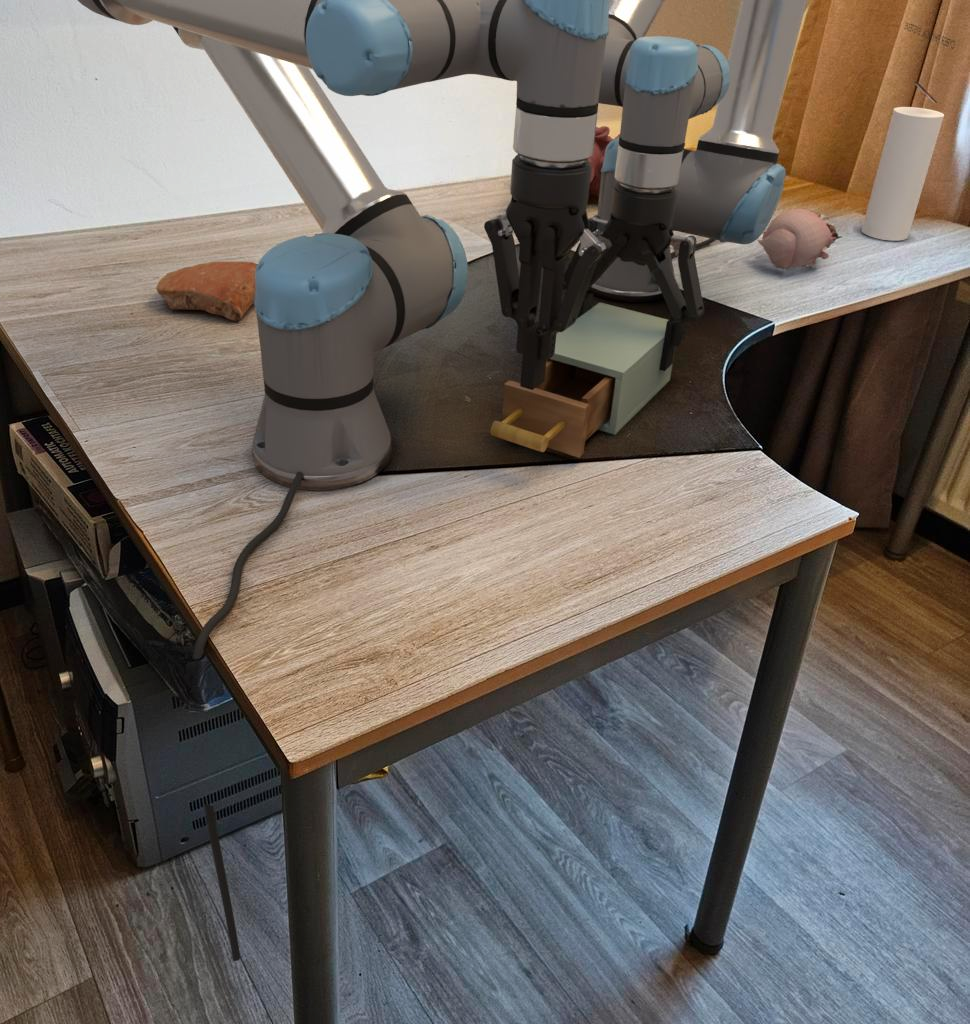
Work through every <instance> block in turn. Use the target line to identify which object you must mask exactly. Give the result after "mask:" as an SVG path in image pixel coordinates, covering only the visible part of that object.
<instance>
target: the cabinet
mask: <svg viewBox="0 0 970 1024" xmlns="http://www.w3.org/2000/svg"><path fill="white" fill-rule="evenodd" d="M668 320H669V319H667V318H664V317H659V316H656V315H651V314H647V313H643V312H640V311H636V310H631V309H627V308H623V307H619V306H616V305H611V304H608V303H604V302H598V303H597V304H596V305H594V306H592V308H591V309H590V310H589V311H587V312H586V313H584V314H583V315H582V316H580V317H579V318H578V319H576V322H575V323H574V324H573V325H571V326H570V327H569V328H567V329H566V330H564V331H563V332H558V331H557V333H556V343H555V353H554V355H553V357H551V358H550V359H552V360H555V361H559V362H562V363H566V364H569V365H573V366H576V367H580V368H583V369H587V370H590V371H594V372H597V373H601V374H604V375H608V376H611V377H615V378H616V380H615V387H614V395H613V402H612V409H611V417H610V418H609V419H608V420H607V421H606V422H605V423H604V424H603V425H602V426H601V427H600V428H599V429H598V430H597V431H600V432H604V433H607V434H609V435H610V434H611V435H614V436H615V435H617V434H618V433H619V432H620V431H621V430H622V429H623V428H624V426H625V425H627V424H628V423H629V421H630V420H632V418H634V417H635V416H636V415H637V414H638V413H639V412H640V411H641V409H643V408H644V407H645V406H646V405H647V404H648V403H649V402H650V401H651V400H652V399H653V398H654V397H655V396H656V395H657V394H658V393H659V392H660V391H661V390H662V389H663V388H664V387H665V386H666V385H667V384H668V383H669V382H670V381H671V376H672V371H673V364H674V363H673V364H672V365H671V366H670V367H669V368H668V369H666V370H665V371H662V370H659V369H660V362H661V356H662V350H663V344H664V338H665V331H666V324H667V321H668ZM676 347H677V346H675V348H676ZM674 354H675V352H674ZM674 359H675V358H673V360H674Z"/></svg>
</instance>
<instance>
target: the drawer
mask: <svg viewBox="0 0 970 1024" xmlns="http://www.w3.org/2000/svg"><path fill="white" fill-rule="evenodd" d="M615 380H616V378H615V377H611V376H608V375H604V374H601V373H597V372H594V371H590V370H587V369H583V368H580V367H576V366H573V365H569V364H566V363H562V362H559V361H555V360H552V359H549V360H547V361H546V369H545V380H544V382H542V383H541V384H540V385H538V386H537V387H536V388H535V389H533V390H530V389H527V388H524V387H521V386H520V384H521V382H517V381H514V380H508V381H506V382H505V383H504V384H503V397H502V398H503V399H502V413H501V415H502V416H501V421H499V420H494V421H493V422H492V424H491V426H490V431H489V433H490V435H491V436H492V437H494V438H498V439H501V440H503V441H507V442H509V443H513V444H516V445H518V446H523V447H525V448H528V449H531V450H534V451H538V452H540V453H545V452H546V450H547V448H548V449H551V450H553V451H556V452H559V453H563V454H566V455H569V456H572V457H575V458H578V459H579V458H581V457H582V456H583V455H584V453H585V445H586V441H588V440H589V438H590V437H591V436H593V435H594V433H596V431H599V430H598V429H599V428H600V427H601V426H602V425H603V424H604V423H605V422H606V421H607V420H608V419H609V418H610V417H611V409H612V402H613V395H614V387H615Z"/></svg>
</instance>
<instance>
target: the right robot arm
mask: <svg viewBox="0 0 970 1024" xmlns="http://www.w3.org/2000/svg"><path fill="white" fill-rule="evenodd" d="M665 1H666V0H609V16H608V26H609V34H608V35H607V38H606V44H605V52H604V60H603V68H602V75H601V83H600V91H599V99H598V100H599V101H598V102H599V103H598V104H600V105H606V106H607V105H608V106H613V107H614V106H615V107H620V108H622V112H621V120H620V128H619V129H620V130H619V134H620V137H618V138H616V139H615V138H613V139H614V140H612V141H611V142H610V143H609V144H608V145H607V147H606V150H605V155H604V161H603V167H602V168H601V172H602V174H601V184H600V194H599V197H598V204H597V206H598V207H597V214H595V215H593V216H591V217H588V220H589V230H590V231H591V232H592V233H593V234H594V235H595V236H596V237H597V239H598V240H599V241H600V240H603V239H604V240H606V241H608V243H609V249H608V251H607V252H606V253H605V254H604V255H603V256H602V257H601V259H600V260H599V261H598V262H597V265H596V267H595V270H594V273H593V276H592V278H591V281H590V284H589V286H588V289H587V292H586V295H585V297H584V300H583V303H582V305H581V308H580V311H579V314H578V316H577V319H578V318H579V317H580V316H582V315H583V314H584V313H586V312H587V311H589V310H590V309H591V308H593V301H594V295H595V296H597V297H600V298H603V299H608V300H612V301H617V302H625V303H626V302H628V303H629V302H630V303H646V302H647V303H648V302H654V301H659V300H662V299H664V301H665V303H666V306H667V308H668V311H669V313H670V314H671V317H670V318H669V319H667V320H668V321H667V324H666V331H665V338H664V344H663V350H662V356H661V362H660V369H659V370H662V371H665V370H666V369H668V368H669V367H670V366H671V365H672V364H674V359H675V358H674V357H675V353H674V352H675V351H676V347H679V346H680V345H682V344H683V342H684V341H685V338H686V331H687V325H688V322H691V323H694V322H696V321H698V320H699V319H700V318H701V317H702V316H703V315H704V314H705V305H704V301H703V294H702V289H701V283H700V278H699V273H698V267H697V262H696V257H695V256H696V255H695V254H696V249H699V248H702V247H705V246H707V245H709V244H712V243H713V242H715V241H719V243H730V244H731V243H732V244H737V245H749V244H753V243H754V242H755V241H758V240H759V238H760V237H761V236H762V235H763V233H764V232H765V231H766V230H767V228H768V226H769V225H770V223H771V221H772V218H773V216H774V214H775V211H776V210H777V207H778V205H779V202H780V200H781V197H782V193H783V191H784V185H785V181H786V175H787V170H786V168H785V167H784V166H783V165H781V164H780V163H778V159H779V155H780V149H779V148H778V146H777V144H776V142H775V141H774V135H773V134H774V130H775V128H776V127H775V126H776V124H777V123H776V122H777V119H778V114H779V111H780V107H781V104H782V99H783V95H784V91H785V89H786V84H787V80H788V76H789V73H790V69H791V65H792V60H793V56H794V52H795V49H796V46H797V41H798V37H799V33H800V29H801V27H802V22H803V18H804V14H805V10H806V5H807V2H808V0H741V2H740V5H739V11H738V16H737V19H736V24H735V28H734V32H733V37H732V41H731V45H730V49H729V54H728V58H726V55H724V53H722V51H721V50H719V49H718V48H716V47H714V46H711V45H707V44H695V42H694V41H693V40H690V39H688V38H687V39H686V38H682V37H675V36H665V35H663V36H662V35H652V36H646V35H647V34H648V32H649V30H650V28H651V26H652V24H653V23H654V21H655V19H656V17H657V15H658V14H659V12H660V10H661V8H662V6H663V5H664V3H665ZM715 106H716V110H715V113H714V119H713V123H712V126H711V128H710V129H709V130H707V131H706V132H704V133H703V134H702V135H701V136H699V137H698V140H697V144H696V149H695V150H692V149H686V148H685V146H686V137H687V132H688V124H689V120H690V119H693V118H695V117H698V116H700V115H704V114H707V113H708V112H709V111H712V109H713V108H714V107H715ZM674 232H679V233H683V234H688V236H687V237H686V236H681V235H676V234H674ZM696 236H697V237H703V238H706V240H704V241H701V242H698V243H697V237H696ZM671 246H672V248H673V250H674V251H672V252H671ZM579 248H580V242H578V245H577V248H576V250H575V252H574V253H573V255H572V257H571V259H570V262H569V264H568V266H567V268H566V269H565V274H564V284H563V290H567V288H568V285H569V282H570V280H571V277H572V274H573V271H574V268H575V266H576V263H577V262H578V260H579V259H580V257H581V256H579V254H578V252H579ZM674 257H677V265H678V266H677V267H678V270H679V276H680V281H681V286H682V287H681V288H682V290H681V288H680V286H679V284H678V282H677V279H676V277H675V271H674V265H673V259H672V258H674ZM682 291H683V292H682ZM675 346H676V347H675ZM673 358H674V359H673ZM672 366H673V365H672Z"/></svg>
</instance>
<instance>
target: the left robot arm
mask: <svg viewBox="0 0 970 1024" xmlns="http://www.w3.org/2000/svg"><path fill="white" fill-rule="evenodd" d="M77 2H78V3H80V4H81V6H83V7H84V8H87V9H88V10H89V11H91V12H93V13H94V14H98V15H99V16H102V17H105V18H108V19H112V20H115V21H117V22H121V23H125V24H128V25H132V26H143V25H146V24H149V23H151V22H153V21H154V22H158V23H160V24H164V25H167V26H171V27H172V28H173V30H174V31H175V32H176V34H177V35H178V37H179V38H180V40H181V42H182V43H183V44H184V45H185V46H187V47H189V48H192V49H196V50H202V51H204V52H205V53H206V55H207V56H208V58H209V59H210V61H211V63H212V64H213V65H214V67H215V69H216V70H217V72H218V73H219V75H220V77H221V78H222V79H223V81H224V82H225V84H226V85H227V87H228V89H229V90H230V92H231V93H232V95H233V96H234V98H235V99H236V101H237V102H238V104H239V106H240V107H241V108H242V110H243V111H244V113H245V115H246V116H247V118H248V120H249V121H250V122H251V123H252V125H253V126H254V128H255V130H256V131H257V133H258V134H259V136H260V137H261V139H262V140H263V142H264V143H265V145H266V147H267V148H268V149H269V151H270V152H271V154H272V156H273V157H274V159H275V160H276V162H277V164H278V165H279V166H280V168H281V169H282V171H283V172H284V174H285V176H286V177H287V179H288V180H289V182H290V184H291V185H292V186H293V188H294V190H295V191H296V193H297V194H298V196H299V197H300V198H301V199H302V202H303V203H304V205H305V206H306V207H307V209H308V211H309V212H310V214H311V215H312V217H313V218H314V221H316V223H317V224H318V226H319V227H320V229H321V233H315V234H314V235H312V236H307V235H301V236H296V237H293V238H290V239H287V240H285V241H282V242H280V243H278V244H276V245H275V246H272V247H271V248H270V249H269V250H267V251H266V252H265V253H264V254H263V255H262V256H261V258H260V259H259V261H258V263H257V264H258V265H257V267H256V271H255V288H256V291H255V297H254V303H253V305H254V310H255V313H256V321H257V330H258V340H259V348H260V357H261V368H262V378H263V388H264V390H263V391H264V396H263V400H262V404H261V408H260V412H259V415H258V419H257V423H256V427H255V430H254V434H253V439H252V455H253V460H254V464H255V467H256V468H257V470H258V471H259V472H260V473H261V474H262V475H263V476H265V477H266V478H268V479H269V480H271V481H273V482H275V483H278V484H280V485H283V486H286V487H289V488H288V491H287V493H286V494H285V495H286V496H285V497H284V500H283V503H282V505H281V507H280V510H279V512H278V513H277V514H276V516H275V517H274V519H273V520H272V521H271V523H270V524H268V526H266V527H265V528H264V529H263V530H262V531H260V532H259V533H258V534H257V535H256V536H254V537H253V538H252V539H251V540H250V541H249V542H248V543H246V545H245V547H244V548H243V549H242V550H241V552H240V553H239V555H238V557H237V559H236V561H235V563H234V566H233V570H232V575H231V580H230V587H229V591H228V594H227V598H226V600H225V602H224V604H223V605H222V607H221V608H220V609H219V610H218V611H217V612H216V613H214V614H213V615H212V616H211V617H210V618H209V619H208V620H207V622H206V623H205V624H204V625H203V627H202V629H201V631H200V632H199V634H198V636H197V639H196V640H195V645H194V648H193V652H192V656H191V657H192V659H193V660H199V659H201V658H202V657H203V654H204V651H205V647H206V643H207V641H208V639H209V636H210V635H211V633H212V632H213V631H214V629H215V628H216V627H217V626H218V625H219V624H220V623H221V622H222V621H223V620H224V619H225V618H226V617H227V616H228V615H229V613H231V611H232V609H233V607H234V606H235V603H236V601H237V599H238V597H239V592H240V587H241V582H242V574H243V569H244V566H245V564H246V562H247V559H248V558H249V557H250V555H251V553H252V552H253V551H254V550H255V549H257V547H258V546H260V545H261V544H262V543H263V542H264V541H265V540H267V539H268V538H269V537H270V536H271V535H272V534H274V532H276V530H277V529H278V528H279V527H280V526H281V524H282V523H283V522H284V520H285V519H286V517H287V515H288V513H289V511H290V509H291V506H292V503H293V501H294V498H295V496H296V494H297V491H298V489H301V490H312V491H314V490H315V491H323V490H327V491H328V490H337V489H342V488H348V487H351V486H355V485H358V484H361V483H363V482H366V481H368V480H370V479H373V478H374V477H375V476H377V475H378V474H380V473H381V472H382V471H383V470H384V469H385V468H386V467H387V466H388V464H389V463H390V461H391V458H392V436H391V435H392V434H391V432H390V430H389V427H388V424H387V422H386V419H385V417H384V413H383V411H382V408H381V406H380V403H379V400H378V398H377V395H376V393H375V385H374V355H375V353H377V352H378V351H381V350H383V349H385V348H387V347H389V346H391V345H393V344H395V343H397V342H400V341H402V340H404V339H405V338H408V337H411V336H412V335H414V334H416V333H418V332H420V331H422V330H426V329H430V328H432V327H434V326H435V325H436V324H437V323H438V322H439V321H441V320H443V319H445V318H446V317H448V316H449V315H451V314H452V313H453V312H454V311H455V310H456V309H457V308H458V306H459V305H460V304H461V302H462V300H463V299H464V296H465V293H466V289H467V279H468V278H467V277H468V275H469V267H468V266H469V265H468V259H467V258H468V257H467V255H466V251H465V248H464V245H463V243H462V240H461V239H460V237H459V235H458V234H457V233H456V231H455V230H454V228H452V226H450V225H449V224H448V223H447V222H446V221H444V220H443V219H439V218H436V217H434V216H432V215H429V214H428V215H426V214H424V215H420V213H419V212H418V210H417V208H416V207H415V206H414V203H412V201H411V199H410V198H409V195H407V193H405V192H404V191H400V190H395V189H390V188H388V187H386V186H385V184H384V182H383V181H382V179H381V178H380V176H379V174H378V173H377V172H376V170H375V168H374V167H373V166H372V164H371V162H370V161H369V159H368V158H367V156H366V155H365V153H364V151H363V150H362V149H361V147H360V145H359V144H358V141H356V139H355V137H354V136H353V134H352V133H351V132H350V130H349V129H348V127H347V125H346V124H345V122H344V121H343V120H342V118H341V116H340V114H339V113H338V111H337V110H336V108H335V107H334V106H333V105H334V104H332V102H331V101H330V99H329V98H328V96H327V94H326V93H325V91H324V90H323V88H322V87H321V85H320V84H319V82H318V81H317V79H316V77H317V78H318V79H320V80H321V81H322V82H323V84H324V85H325V86H326V88H327V89H328V90H330V91H331V92H332V93H335V94H338V95H340V96H344V97H357V96H365V97H374V96H379V95H382V94H385V93H388V92H391V91H395V90H399V89H403V88H408V87H413V86H416V85H421V84H425V83H431V82H436V81H441V80H445V79H450V78H456V77H459V76H463V75H464V76H465V75H477V76H484V77H490V78H497V79H501V80H504V81H509V82H516V99H515V100H516V104H515V105H516V106H515V118H514V129H513V142H512V151H514V152H515V153H516V155H515V156H514V157H513V158H512V159H511V173H510V175H511V176H510V190H509V191H510V195H511V197H510V198H511V199H510V201H509V203H508V205H507V206H506V209H505V214H502V215H501V214H500V215H497V216H494V217H493V218H490V219H489V220H487V221H485V222H484V224H483V228H484V231H485V233H486V235H487V237H488V239H489V242H490V244H491V247H492V253H493V254H492V255H493V262H494V267H495V275H496V281H497V290H498V296H499V303H500V309H501V314H502V315H503V316H504V317H505V318H511V319H512V320H514V321H515V322H516V324H517V334H516V348H515V349H516V352H517V354H520V355H522V360H521V373H520V386H521V387H524V388H527V389H530V390H533V389H535V388H536V387H537V386H538V385H540V384H541V383H542V382H544V380H545V369H546V361H547V360H549V359H550V358H551V357H553V355H554V353H555V343H556V334H557V333H558V332H563V331H564V330H566V329H567V328H569V327H570V326H571V325H573V324H574V323H575V322H576V319H577V316H578V314H579V311H580V308H581V305H582V303H583V300H584V297H585V295H586V294H587V293H588V291H587V289H588V286H589V284H590V281H591V278H592V276H593V273H594V270H595V267H596V265H597V262H598V261H599V260H600V259H601V257H602V256H603V255H604V254H605V253H606V252H607V251H608V249H609V243H608V241H606V240H604V239H603V240H600V241H599V240H598V239H597V237H596V236H595V235H594V234H593V233H592V232H591V231H590V230H589V220H588V219H589V217H588V213H587V207H588V202H589V198H590V197H589V196H590V194H589V189H590V180H591V171H592V165H591V164H590V162H589V160H587V159H589V158H590V157H591V156H592V155H593V151H594V142H595V132H596V127H597V123H598V113H599V104H600V103H599V102H598V101H599V100H598V99H599V91H600V83H601V75H602V68H603V60H604V52H605V44H606V38H607V35H608V34H609V26H608V16H609V0H77ZM311 70H312V71H313V72H314V73H315V75H316V77H315V76H314V74H313V73H312V71H311ZM513 233H514V235H515V237H516V240H517V242H518V243H519V248H518V249H519V251H518V257H517V250H516V244H515V239H514V235H513ZM577 243H580V248H579V252H578V254H579V256H581V257H580V259H579V260H578V262H577V263H576V266H575V268H574V271H573V274H572V277H571V280H570V282H569V285H568V288H567V289H566V291H565V294H564V289H563V284H564V274H565V272H566V264H567V263H568V260H569V253H570V251H571V250H572V249H573V248H574V247H575V246H576V245H577ZM518 261H519V263H520V268H519V266H518ZM519 270H520V271H519ZM541 282H542V284H541ZM563 294H564V297H563ZM539 302H540V303H539ZM537 319H538V320H537ZM536 320H537V321H536ZM203 807H204V814H205V819H206V825H207V830H208V836H209V841H210V846H211V851H212V856H213V861H214V867H215V872H216V876H217V882H218V887H219V891H220V897H221V902H222V907H223V911H224V917H225V922H226V927H227V928H226V929H227V933H228V938H229V944H230V950H231V951H230V952H231V956H232V960H233V962H238V961H239V960H240V959H241V952H240V951H241V950H240V946H239V940H238V932H237V927H236V922H235V916H234V911H233V910H234V909H233V906H232V900H231V895H230V889H229V884H228V879H227V873H226V869H225V863H224V858H223V853H222V848H221V842H220V837H219V832H218V826H217V820H216V813H215V807H214V805H211V804H206V803H204V804H203Z"/></svg>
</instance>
